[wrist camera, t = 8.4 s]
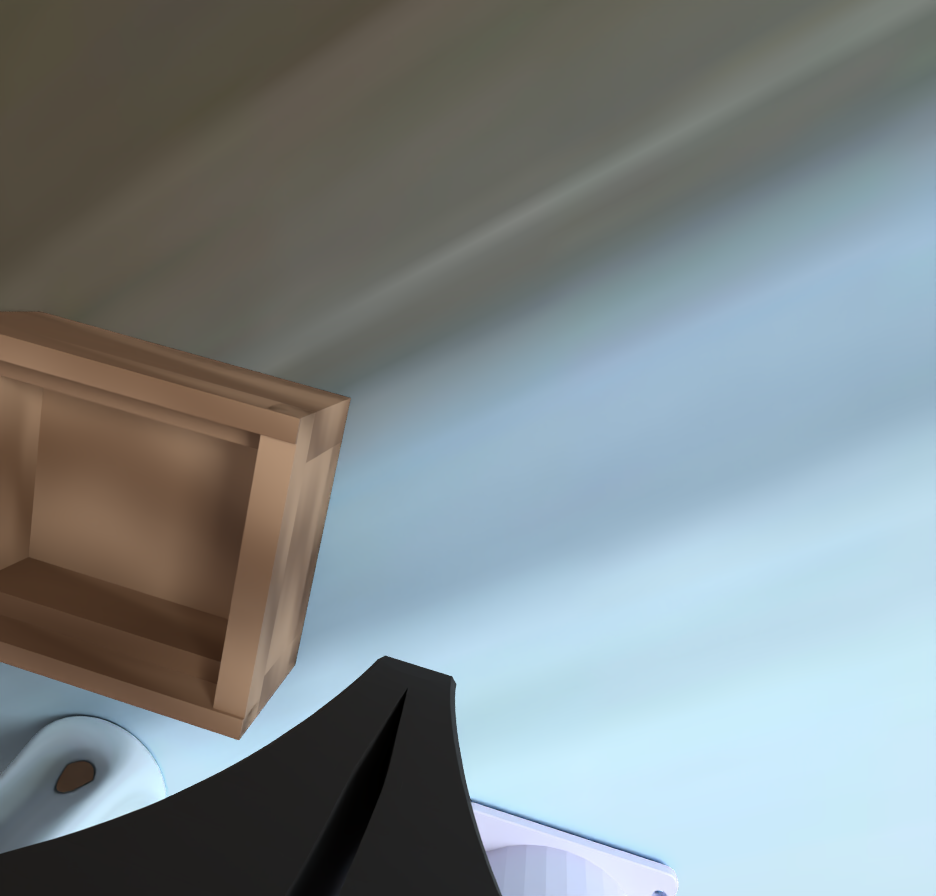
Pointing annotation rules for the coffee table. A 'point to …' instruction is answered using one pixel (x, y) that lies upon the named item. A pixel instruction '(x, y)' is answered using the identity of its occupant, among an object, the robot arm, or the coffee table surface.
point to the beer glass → (74, 781)
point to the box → (157, 518)
